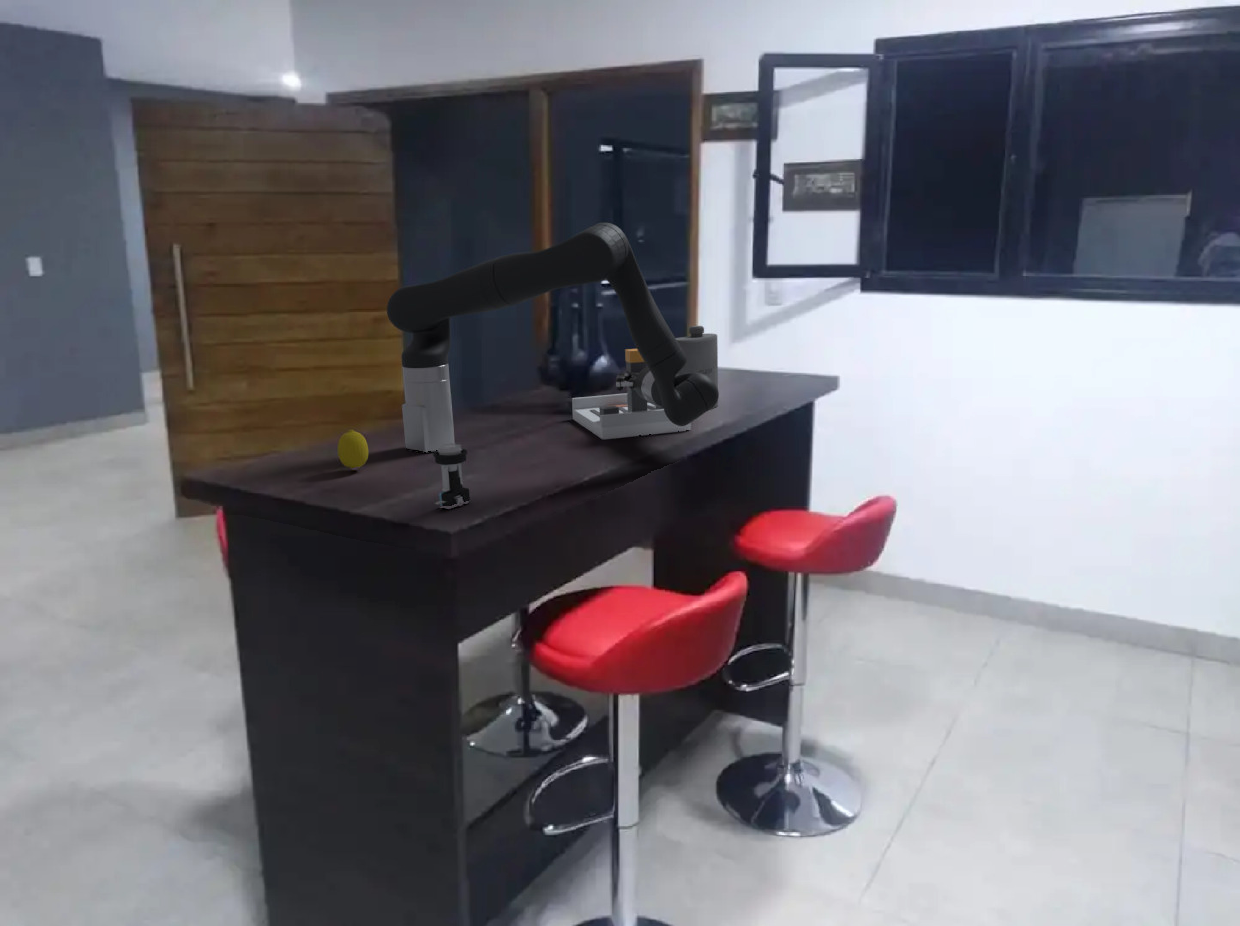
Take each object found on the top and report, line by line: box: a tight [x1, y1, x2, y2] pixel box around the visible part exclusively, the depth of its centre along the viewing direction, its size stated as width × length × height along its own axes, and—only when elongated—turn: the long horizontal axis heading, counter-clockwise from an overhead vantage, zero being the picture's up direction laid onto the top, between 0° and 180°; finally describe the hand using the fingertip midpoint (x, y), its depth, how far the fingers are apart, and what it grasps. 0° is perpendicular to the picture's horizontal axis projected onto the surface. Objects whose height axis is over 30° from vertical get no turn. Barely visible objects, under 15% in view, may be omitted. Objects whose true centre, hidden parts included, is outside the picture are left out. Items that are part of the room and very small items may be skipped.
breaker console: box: [571, 392, 692, 440], centre depth 204 cm, size 24×20×6 cm
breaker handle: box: [624, 348, 647, 412], centre depth 197 cm, size 3×4×14 cm
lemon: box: [337, 429, 369, 469], centre depth 171 cm, size 6×6×8 cm
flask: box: [675, 325, 719, 410], centre depth 217 cm, size 15×6×20 cm, turn 138°
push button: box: [432, 443, 471, 506], centre depth 145 cm, size 7×5×10 cm
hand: (632, 375), depth 199 cm, fingers closed on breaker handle, 3 cm apart
